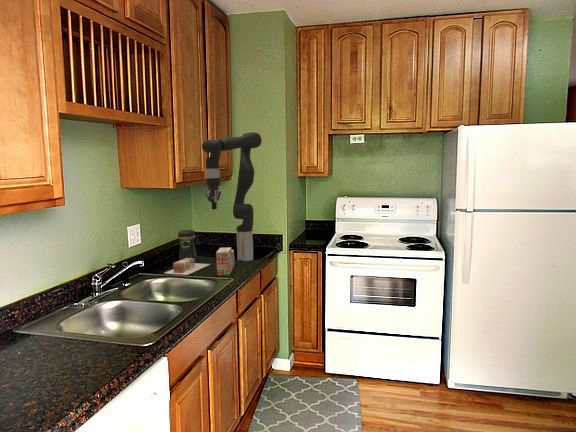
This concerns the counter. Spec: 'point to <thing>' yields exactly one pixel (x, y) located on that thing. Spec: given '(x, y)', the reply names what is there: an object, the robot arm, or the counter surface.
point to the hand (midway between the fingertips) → (214, 209)
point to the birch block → (183, 265)
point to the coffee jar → (187, 244)
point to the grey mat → (196, 267)
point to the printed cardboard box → (225, 261)
